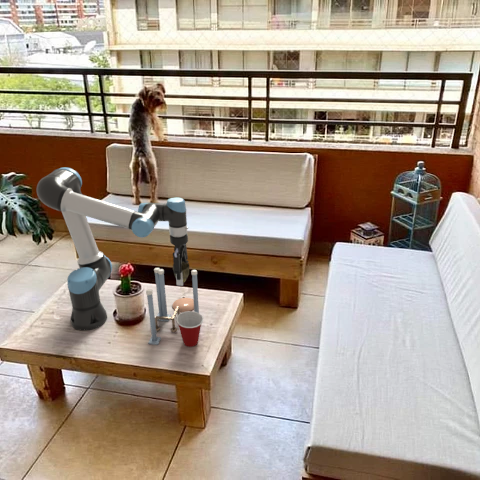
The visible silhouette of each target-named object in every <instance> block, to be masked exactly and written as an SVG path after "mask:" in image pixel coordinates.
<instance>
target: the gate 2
mask: <svg viewBox="0 0 480 480" xmlns="http://www.w3.org/2000/svg"><path fill="white" fill-rule="evenodd" d="M160 269H161V268H160V267H155V268H154V269H153V271H154V276H155V277H154V278H155V285H156V287H155V288H156V297H157V307H158V313H156V314H157V315H156V316H163V312H162V302H161V291H160V281H159V274H158V270H160ZM190 272H191V273H190V274H191V276H192V277H191V281H192V294H193V295H192V296H193V298H192V299H193V300H194V309H193V311H194V312H197V313H199V314H200V309H199V307H200V306H199V293H198V291H199V290H198V289H199V288H198V271H197V270H196V269H192V270H191V271H190Z"/></svg>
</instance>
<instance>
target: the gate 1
mask: <svg viewBox="0 0 480 480" xmlns="http://www.w3.org/2000/svg"><path fill="white" fill-rule="evenodd" d="M158 274H159V281H160V291H161V302H162V312H163V317H172V314H168V308H167V307H168V305H167V295H166V285H165V275H164V274H165V270H164V269H163V268H160V270H158ZM153 292H154V291H153V289H151V288H148V289H146V291H145V294H146V299H147V307H148V313H149V314H148V316H149V324H150V330H151V331H150V332H151V334H150V335H151V336H150V339H149V340H148V345H154V346H155V345H157V346H159V344H160V342H161V339H162V337H161V336H157V331H156V324H155V317H156V316H155V309H154V308H155V307H154V297H153ZM159 321H160V322H170V320H162V319H159Z"/></svg>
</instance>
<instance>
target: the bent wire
mask: <svg viewBox="0 0 480 480" xmlns="http://www.w3.org/2000/svg"><path fill="white" fill-rule="evenodd" d="M180 313H181V312H180V308H179V306H177V308H176V310H174V313H173V315H172V316H171V317H163V316H157V315H156V316H155V324H156V332H159V331H160V330H161V326H160V325H159V323H158V320H160V319H162V320H169V321H171V326H172V327H171V328H170V329H169V330H170V332H171V333H177V332H178V331H179V330H178V329H179V328H178V327H176V322H175V321H176V318H177V316H178V315H179V314H180Z"/></svg>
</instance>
